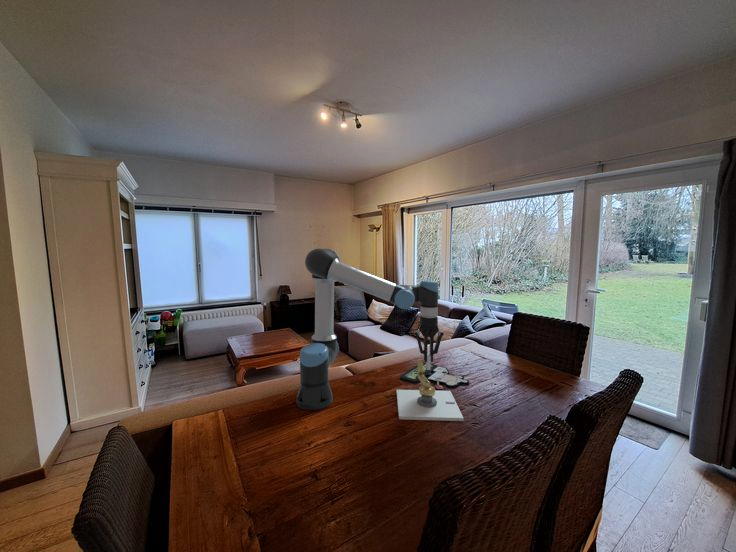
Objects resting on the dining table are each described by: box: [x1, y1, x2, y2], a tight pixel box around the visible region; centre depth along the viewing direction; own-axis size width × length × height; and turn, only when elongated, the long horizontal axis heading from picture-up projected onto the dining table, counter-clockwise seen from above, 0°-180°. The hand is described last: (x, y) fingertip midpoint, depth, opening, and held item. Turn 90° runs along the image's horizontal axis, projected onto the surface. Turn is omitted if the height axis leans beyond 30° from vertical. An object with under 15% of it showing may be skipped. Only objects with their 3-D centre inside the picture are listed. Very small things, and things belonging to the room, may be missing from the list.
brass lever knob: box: [417, 358, 435, 397], centre depth 125 cm, size 13×6×11 cm, turn 9°
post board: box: [396, 389, 465, 422], centre depth 122 cm, size 24×22×5 cm
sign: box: [399, 361, 470, 391], centre depth 149 cm, size 27×2×30 cm
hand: (428, 368), depth 131 cm, fingers closed
